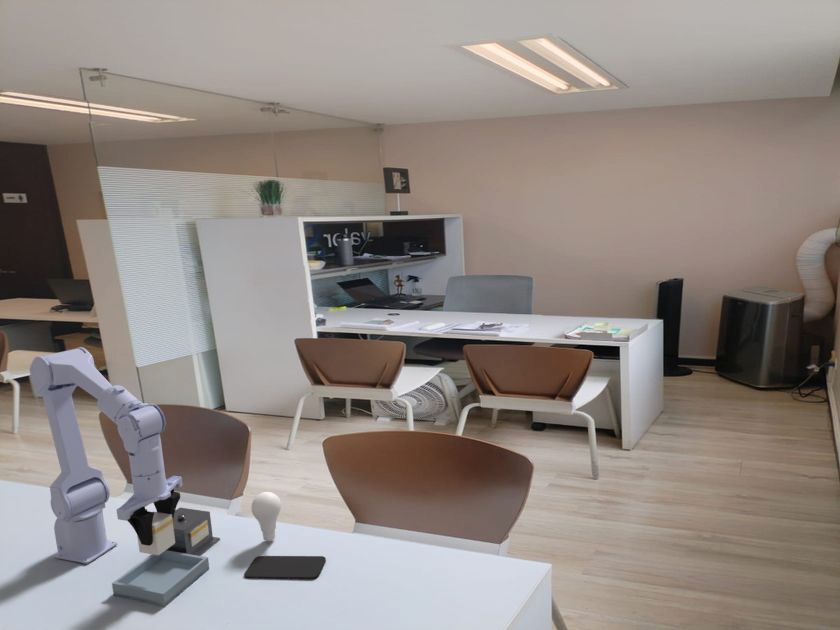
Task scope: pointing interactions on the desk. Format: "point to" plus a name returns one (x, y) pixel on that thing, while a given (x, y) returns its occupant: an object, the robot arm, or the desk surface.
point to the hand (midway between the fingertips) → (156, 537)
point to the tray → (161, 577)
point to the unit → (192, 532)
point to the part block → (160, 534)
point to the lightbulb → (266, 513)
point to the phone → (285, 567)
